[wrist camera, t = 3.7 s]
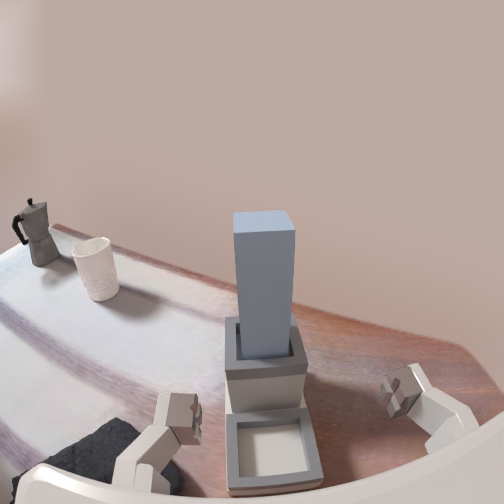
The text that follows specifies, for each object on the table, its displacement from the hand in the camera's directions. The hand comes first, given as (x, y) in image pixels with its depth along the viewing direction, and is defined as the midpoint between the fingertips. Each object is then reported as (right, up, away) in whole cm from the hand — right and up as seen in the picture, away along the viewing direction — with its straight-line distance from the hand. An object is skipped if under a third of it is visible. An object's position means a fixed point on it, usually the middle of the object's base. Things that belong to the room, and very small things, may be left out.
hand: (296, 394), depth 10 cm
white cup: (-31, -2, +39) cm, 50 cm away
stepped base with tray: (0, -13, +16) cm, 20 cm away
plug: (-1, -4, +15) cm, 16 cm away
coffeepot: (-60, +3, +52) cm, 79 cm away
